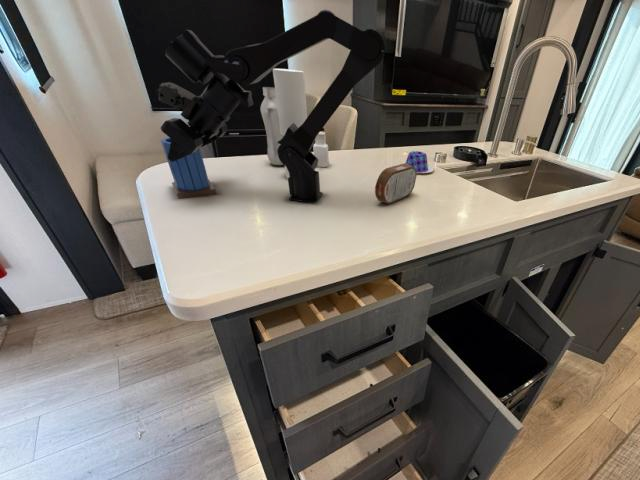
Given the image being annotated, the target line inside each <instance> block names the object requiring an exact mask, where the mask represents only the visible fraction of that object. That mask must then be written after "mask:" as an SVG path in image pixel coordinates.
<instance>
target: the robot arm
mask: <svg viewBox="0 0 640 480" xmlns="http://www.w3.org/2000/svg"><path fill="white" fill-rule="evenodd" d="M327 40H332V41H333V42H335V43H337V44H339V45H341V46H342V47H344V48H345V49H347V50H349V53H348V55H347V58H346V59H345V62H344V63H343V66H342V68H341V70H340V71H339V73H338V74H337V75H336V76H335V78H334V80H333V81H332V83H330V85H329V87H328V88H327V90H326V91H325V92H324V93H323V95H322V97H321V98H320V99H319V101H318V102H317V103H316V105H314V107H313V108H312V110H311V112H310V113H309V114H308V115H307V119H306V120H305V121H304V123H303V124H302V125H301V126H300V127H297V126H296V125H295V124H294V123H293V124H292V125H291V126H290V127H288V129H287V131H286V133H285V135H284V136H283V137H282V138H281V139H280V140H279V141H278V144H281V145H280V146H279V148H278V151H277V153H278V157H279V159H280V161H281V162H282V163H283V165H282V166H284V167H285V166H286V167H287V169H288V171H289V175H290V177H289V178H287V183H288V191H289V192H288V193H289V195H290V196H289V201H296V202H303V203H311V204H312V203H313V204H315V203H317V202H318V201H319V200H320V198H321V197H322V196H323V192H322V191H321V185H320V171H318V170H316V168H317V164H318V159H317V158H316V157H315V155H314V152H312V151H311V149H312V148H313V145H314V144H315V139H316V137H317V135H318V133H319V132H322V129H324V127H325V126H326V124H327V123H328V122H329V120H330V119H331V118H332V117H333V115H334V114H335V112H336V111H337V110H338V109H339V107H340V106H341V104H342V103H343V102H344V101H345V99H346V98H347V96H348V95H349V94H350V93H351V91H352V90H353V89H354V87H355V86H356V85H357V84H358V83H359V82H360V81H362V79H364V78H365V77H366V76H367V75H369V74H370V73H371V72H372V71H373V70H374V69H375V68H377V66H378V65H380V64H381V62H382V61H383V59H384V57H385V53H386V46H385V41H384V39H383V37H382V35H381V34H380V33H379V32H378V31H377V30H375V29H372V28H364V29H363V30H361V29H360V28H358V27H357V26H354V25H352V24H351V23H349V22H347V21H346V20H344V19H342V18H340V17H338V15H337V16H336V14H335V13H334V12H332V11H331V10H328V9H323V10H320V11H319V12H318V13H317V14H316V15H314V16H312V17H310V18H308V19H306V20H304V21H302V22H301V23H299V24H296V25H295V26H293V27H292V28H289V29H287V30H285V31H283V32H282V33H280V34H278V35H276V36H273V37H272V38H270V39H268V40H266V41H264V42H263V41H262V42H259V43H255V44H250V45H243V46H239V47H237V48H233V49H230V50H227V52H226V53H225V55H214V54H213V52H211V50H209V48H208V47H207V46H206V45H205V44H204V43H203V42H202V41H201V40H200V38H199V37H198V35H197V34H195V32H193V31H192V30H191V29H184V31H183V32H182V34H180V35H178V36H177V37H176V38H175V39H174V40H173V41H170V42H169V43H168V45H167V47H166V49H165V52H164V53H165V55H164V56H165V57H166V58H167V59H168V60H169V61H170V62H171V63H172V64H174V66H175V67H176V68H178V69H179V70H180V71H181V72H182V73H183V74H184V75H185V77H187V78H188V79H189V80H190V81H191V82H192V83H193V84H198V83H201V85H206V84H207V83H208V85H207V86H206V87H205V89H204V90H203V92H202V93H201V94H200V95H195V94H194V93H193V92H190V91H189V90H187V89H185V88H184V87H181V86H180V85H178V84H176V83H173V82H171V81H168V82H161V83H160V84H159V85H158V88H157V89H155V92H156V94H157V95H158V101H159V102H160V103H162V104H164V105H165V104H166V105H168V106H170V107H172V108H174V109H176V110H178V111H180V112H181V113H180V116H181V117H182V118H183V119H185V120H186V121H187V122H185V121H184V120H183V119H182V118H176V117H173V118H169V119H167V120H164V122H163V123H162V124H161V126H160V131H161V132H162V133H163V134H165V136H167V138H168V137H169V138H171V144H170V148H169V153H168V157H167V158H168V159H169V160H170V161H171V162H174V161H176V160H178V159H181V158H183V157H185V156H188V155H190V154H192V153H195V152H197V151H198V150H199V148H200V149H201V148H203V147H205V146H208V145H209V144H211V143H214V142H215V141H218V140H219V139H220V138H222V137H224V135H225V134H226V133H227V132H228V125H227V123H226V122H228V121H230V119H231V115H232V113H233V112H234V111H235V109H236V108H238V106H239V105H240V103H242V105H244V106H245V108H250V107H251V106H253V105H254V101H253V98H252V97H253V95H252V94H253V93H252V91H251V90H245V89H244V88H243V86H244V87H245V86H249V85H253V84H257V83H259V82H260V81H261V80H263V79H264V78H265V77H267V76H268V75H269V74H270V73H271V72H273V69H276V67H277V66H278V65H280V64H282V63H284V62H285V61H287V60H289V59H291V58H293V57H296V56H297V55H299V54H301V53H303V52H305V51H307V50H310V49H311V48H313V47H315V46H317V45H319V44H321V43H323V42H325V41H327ZM227 76H228V77H227ZM210 80H211V81H210ZM209 81H210V82H209ZM167 158H166V159H167Z"/></svg>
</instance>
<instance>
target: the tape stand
mask: <svg viewBox="0 0 640 480" xmlns="http://www.w3.org/2000/svg"><path fill="white" fill-rule="evenodd" d="M208 180H209V186H208V187H207V188H204V189H201V190H195V191H187V190H180V189H178V188H177V187H176V185H175V182H174V181H172V182H171V184H172V188H173V190H174V192H175V194H176V197H177V199H185V198H194V197H202V196H211V195H217V190H216V188H215V186H214V185H213V183H212V182H211V180H210V179H209V178H208Z"/></svg>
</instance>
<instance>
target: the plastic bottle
mask: <svg viewBox="0 0 640 480" xmlns="http://www.w3.org/2000/svg"><path fill="white" fill-rule="evenodd" d="M262 92H263V93H262V95H263V96H264V98H263V100H262V102H261V104H260V108H259V110H260V114H261V119H262V120H263V124H264V129H265V134H266V144H267V145H266V146H267V149H266V150H267V151H266V156H267V158H268V161H269V163H270V164H271V165H275V166H284V165H283V163H282V162H281V161H280V159H279V157H278V153H277V151H278V148H279V146H280V145H281V144H278V141H279V140H280V139H281V133H280V125H279V117H278V109H277V100H276V92H275V87H273V86H272V87H271V86H263V87H262Z"/></svg>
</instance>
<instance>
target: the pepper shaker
mask: <svg viewBox="0 0 640 480" xmlns="http://www.w3.org/2000/svg"><path fill="white" fill-rule="evenodd" d="M326 138H327V137H326V132H324V131H320V132H319V133H318V135H317V137H316V139H315V141H314V143H313V145H312V150H313V154H314V155H315V157H316V158H317V159H318V164H317V167H318V168H327V167H328V166H329V164H330V158H329V144H327V143H326V140H327V139H326ZM317 167H316V168H317Z"/></svg>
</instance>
